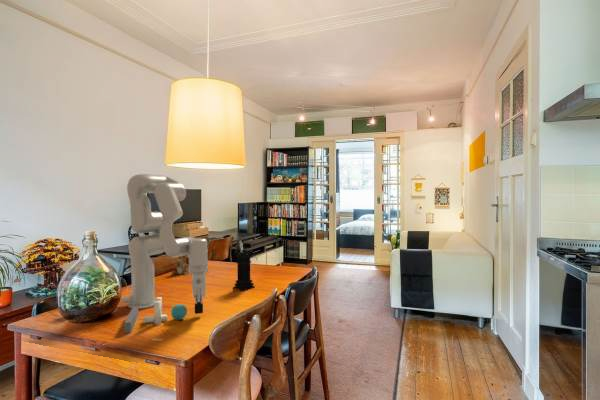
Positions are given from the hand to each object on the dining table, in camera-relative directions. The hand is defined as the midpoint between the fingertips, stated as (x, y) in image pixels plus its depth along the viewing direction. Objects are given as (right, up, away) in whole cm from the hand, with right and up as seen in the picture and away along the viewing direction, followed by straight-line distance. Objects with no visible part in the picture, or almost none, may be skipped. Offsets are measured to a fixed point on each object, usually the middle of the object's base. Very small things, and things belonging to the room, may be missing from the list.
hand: (198, 312), depth 136 cm
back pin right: (-14, -2, -7) cm, 16 cm away
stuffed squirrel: (-34, -1, +78) cm, 85 cm away
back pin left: (-16, -2, -2) cm, 16 cm away
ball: (-7, +1, -3) cm, 8 cm away
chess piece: (+12, -1, +42) cm, 43 cm away
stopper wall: (-24, -2, -8) cm, 25 cm away
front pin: (-12, -1, -4) cm, 12 cm away
